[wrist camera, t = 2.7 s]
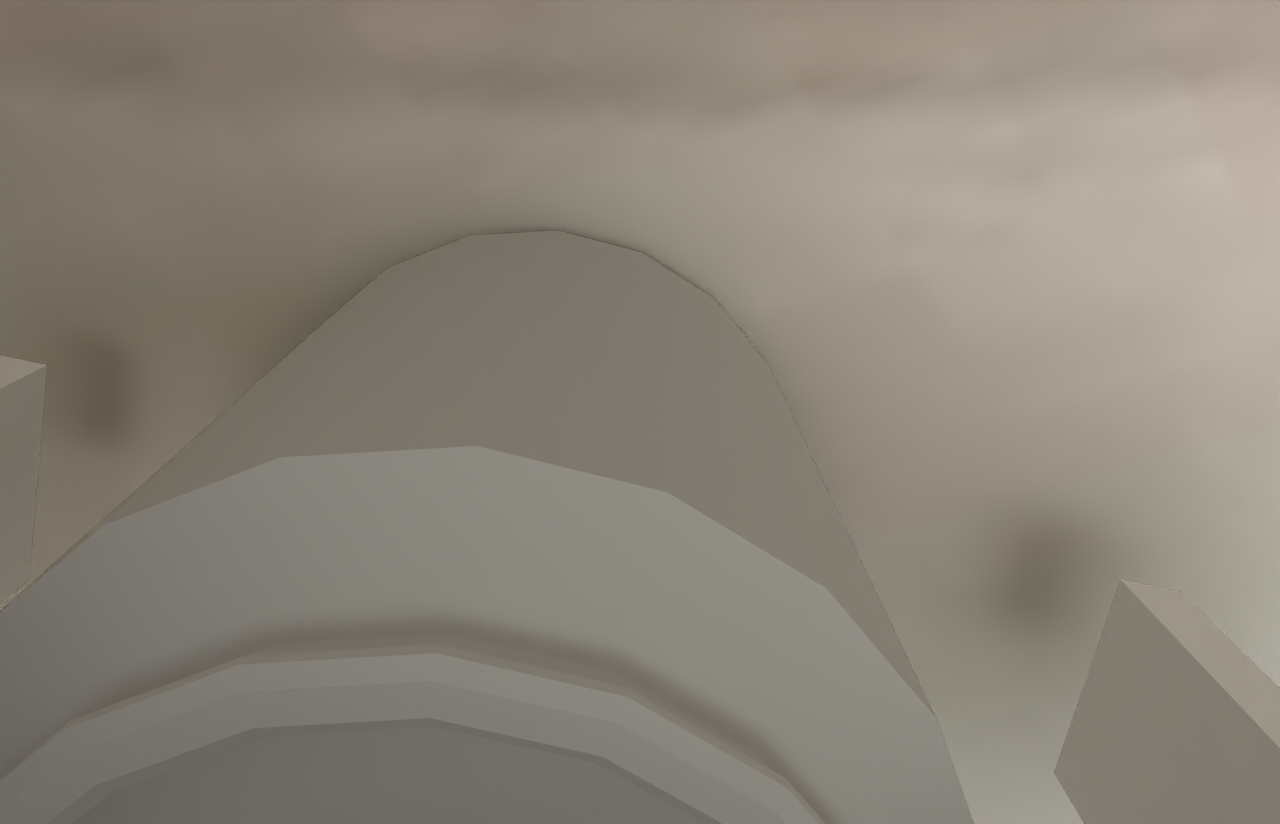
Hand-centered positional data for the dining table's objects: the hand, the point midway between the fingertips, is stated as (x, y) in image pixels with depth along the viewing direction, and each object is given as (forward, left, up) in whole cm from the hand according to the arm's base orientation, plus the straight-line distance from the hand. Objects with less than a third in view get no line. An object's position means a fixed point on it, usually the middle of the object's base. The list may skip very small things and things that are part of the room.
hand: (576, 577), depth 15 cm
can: (-1, 0, -4) cm, 4 cm away
